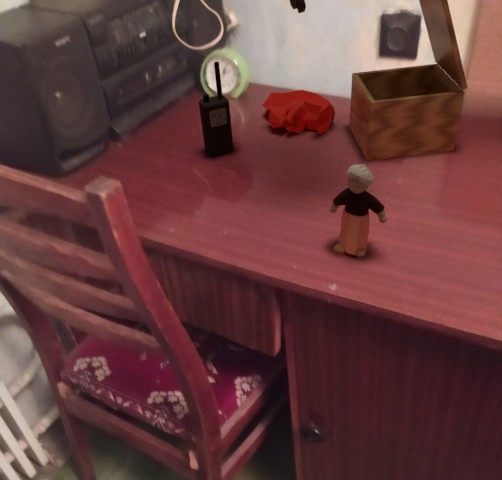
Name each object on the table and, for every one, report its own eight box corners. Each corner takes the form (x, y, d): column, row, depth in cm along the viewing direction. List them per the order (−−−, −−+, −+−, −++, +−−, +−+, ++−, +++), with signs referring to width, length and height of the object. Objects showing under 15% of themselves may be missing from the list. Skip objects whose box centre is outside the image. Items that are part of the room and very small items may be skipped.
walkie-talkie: (210, 159, 100) (198, 69, 90) (203, 151, 103) (192, 63, 92) (236, 153, 101) (227, 63, 91) (229, 145, 104) (220, 57, 93)
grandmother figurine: (323, 256, 79) (325, 170, 70) (329, 240, 81) (332, 155, 72) (381, 263, 77) (390, 176, 68) (385, 246, 79) (395, 160, 70)
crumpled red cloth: (278, 104, 115) (278, 77, 112) (343, 121, 108) (344, 93, 104) (241, 126, 109) (238, 99, 105) (306, 146, 102) (306, 117, 98)
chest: (366, 162, 96) (371, 103, 89) (349, 129, 105) (352, 73, 98) (453, 151, 97) (464, 92, 90) (428, 119, 106) (437, 63, 99)
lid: (438, -10, 80) (474, -30, 78) (410, -32, 89) (442, -50, 87) (462, 90, 90) (494, 74, 88) (435, 62, 99) (464, 46, 97)
